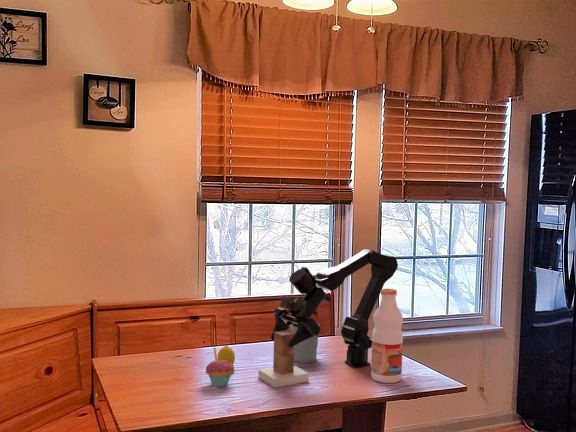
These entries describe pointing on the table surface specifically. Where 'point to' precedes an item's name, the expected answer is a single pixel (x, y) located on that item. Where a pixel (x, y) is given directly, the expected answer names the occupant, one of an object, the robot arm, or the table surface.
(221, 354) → the lemon
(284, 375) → the plate
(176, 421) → the table surface
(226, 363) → the cupcake
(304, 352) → the grey cup
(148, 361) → the table surface
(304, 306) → the robot arm
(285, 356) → the brown wooden block
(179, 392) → the table surface
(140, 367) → the table surface
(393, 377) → the fruit juice
